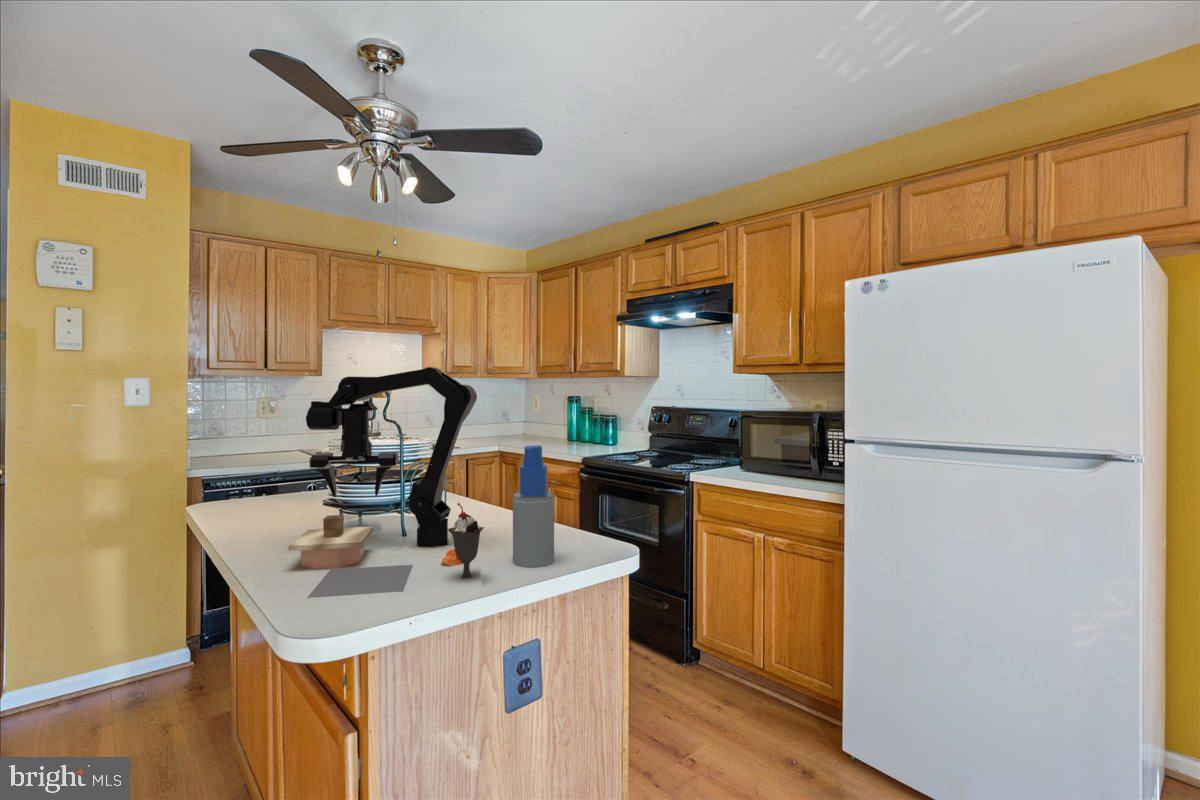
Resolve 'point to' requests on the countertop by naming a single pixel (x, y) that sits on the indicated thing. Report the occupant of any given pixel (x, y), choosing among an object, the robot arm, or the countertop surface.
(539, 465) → the spray bottle
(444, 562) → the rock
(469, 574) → the sundae
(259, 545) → the countertop surface
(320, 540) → the lid
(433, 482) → the robot arm
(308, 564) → the bowl
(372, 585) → the mat
